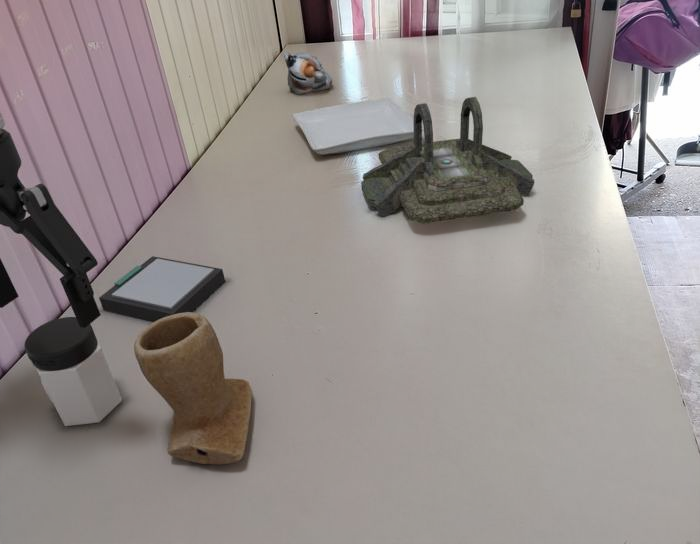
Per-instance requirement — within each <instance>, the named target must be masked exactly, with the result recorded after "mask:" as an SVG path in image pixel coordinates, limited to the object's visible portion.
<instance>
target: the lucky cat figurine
mask: <svg viewBox="0 0 700 544" xmlns="http://www.w3.org/2000/svg"><path fill="white" fill-rule="evenodd" d="M283 57H284V62H285V64H286V67H287V68H288V69H287V71H288V72H287V86H288V88H289V90H290V92H291V93H294V94H296V95H303V94H306V93H310V92H317V91H323V90H331V89H332V84H333V79H332V77H331V75H330V74H329V73H328V72H327V71H326V70H325V68H324V67H323V65H322V63H321V62H320V61H319V60H318V58H317V56H316V55H313V56H312V55H311V54H309V53H306V52H297V53H295V54H294V55H291V54H290V52H286V53H285V54H284V55H283Z"/></svg>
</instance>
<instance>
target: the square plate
mask: <svg viewBox="0 0 700 544" xmlns="http://www.w3.org/2000/svg"><path fill="white" fill-rule="evenodd" d="M291 117H292V119H293V120H294V122H295V123H296V124H297V126H298V127H299V128H300V130H301V132H302V133H303V134H304V136H305V138H306V141H307V142H308V145H309V146H310V148H311V150H312V151H314V152H315V153H316V154H318V155H330V154H331V155H332V154H334V155H335V154H341V153H342V154H343V153H348V152H355V151H359V150H366V149H370V148H377V147H383V146H388V145H392V144H396V143H399V142H403V141H408V140H412V139H414V117H412V116H411V115H409V113H407V112H406V111H405V110H404V109H403V108H402V107H400V105H398V104H397V103H396V102H395V101H394V100H392V99H391V98H390V97H385V98H378V99H370V100H362V101H355V102H354V101H353V102H348V103H342V104H335V105H331V106H325V107H321V108H320V107H319V108H315V109H310V110H306V111H300V112H296V113H295V112H294V113H292V114H291ZM422 132H424V127H422Z"/></svg>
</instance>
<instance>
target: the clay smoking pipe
mask: <svg viewBox="0 0 700 544" xmlns="http://www.w3.org/2000/svg"><path fill="white" fill-rule="evenodd" d="M133 349H134V350H133V351H134V357H135V359H136V361H137V364H138V366H139V368H140V371H141V373H142V374H143V377H144V378H145V380H146V381H147V382H148V383H149V384H150V386H152V388H153V389H154V390H155V391H156V392H157V393H158V394H159V395H160V396H161V397H162V398H163V400H164V401H165V402H166V403H167V405H168V406H169V407H170V408H171V410H172V412H173V416H172V422H171V429H170V436H169V441H168V445H167V454H168V455H169V456H171V457H175V458H178V459H181V460H184V461H187V462H193V463H196V464H197V463H198V464H200V465H201V464H202V465H207V464H210V465H225V464H226V465H228V464H233V463H236V462H239V461H241V459H243V457H244V455H245V450H246V444H247V441H248V433H249V425H250V419H251V413H252V397H253V396H252V395H253V394H252V393H253V392H252V387H251V385H250V382H249V381H247V380H245V379H242V378H241V379H240V378H225V370H224V352H223V349H222V347H221V344H220V341H219V338H218V336H217V333H216V331H215V329H214V327H213V325H212V323H211V322H210V320H208V318H207V317H206V316H204V315H203V314H200V313H197V312H194V311H193V312H185V313H178V314H174V315H170V316H167V317H164V318H161V319H159V320H157V321H155V322H152V323H150V324H149V325H147V326H146V327H145V328H143V329H142V330H141V331H140V332H139V333H138V334H137V336H136V339H135V341H134V346H133Z"/></svg>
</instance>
